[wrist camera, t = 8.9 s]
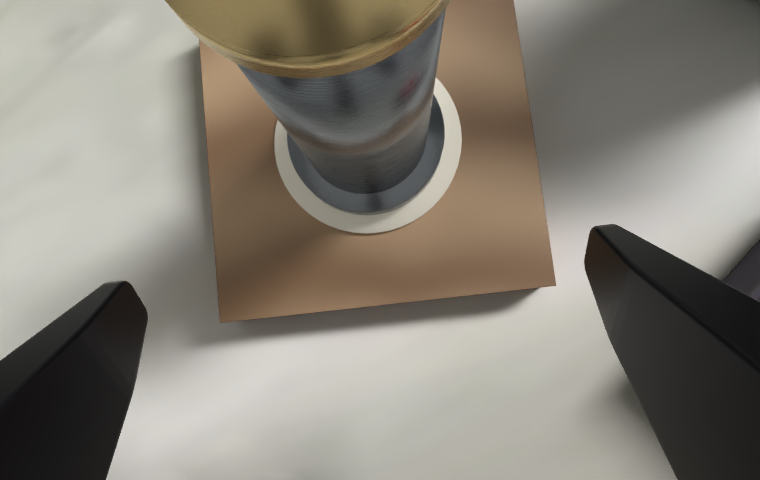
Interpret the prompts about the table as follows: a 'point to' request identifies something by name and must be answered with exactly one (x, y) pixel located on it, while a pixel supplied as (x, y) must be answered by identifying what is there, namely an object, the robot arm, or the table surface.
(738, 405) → the robot arm
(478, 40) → the stand
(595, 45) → the table surface
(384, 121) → the housing
